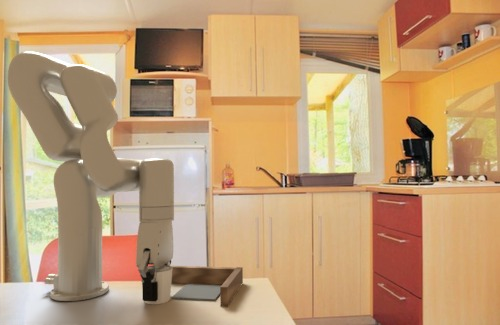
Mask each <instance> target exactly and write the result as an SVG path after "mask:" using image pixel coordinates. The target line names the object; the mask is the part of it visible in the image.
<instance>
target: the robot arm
mask: <svg viewBox="0 0 500 325" xmlns="http://www.w3.org/2000/svg"><path fill="white" fill-rule="evenodd" d="M8 65H9V66H8V68H7V85H8V86H7V87H8V90H9V92H10V94H11V97H12V98H13V100H14V102H15V104H16V105H17V107H18V108H19V110H20V111H21V113H22V114H23V116H24V118H25V119H26V122H27V123H28V125H29V127H30V129H31V130H32V133H33V134H34V136H35V138H36V140H37V142H38V143H39V146H40V147H41V149H42V151H43V152H44V154H45V155H46V157H48V158H49V159H51V160H52V161H57V162H63V163H61V164H60V165H59V166H58V167H57V168H56V170H55V173H54V175H53V187H54V191H55V197H56V201H57V204H56V205H57V217H58V218H57V219H58V220H57V221H58V222H57V223H58V225H57V228H58V230H57V231H58V232H57V233H58V234H57V236H58V237H57V273H49V274H47V276H46V278H45V279H44V280H43V281H44V284H45V285H53V289H51V290H50V293H49V294H50V295H49V297H50V299H52V300H54V301H59V302H77V301H84V300H85V301H86V300H90V299H93V298H98V297H99V296H102V295H104V294H106V293H108V291H109V290H110V284H109V283H108V282H106V281H103V213H102V209H101V206H100V203H99V201H98V198H99V199H100V198H105V197H110V196H114V195H115V194H116V193H117V194H118V193H123V192H137V191H138V192H139V195H138V199H139V201H138V204H139V207H138V208H139V210H138V212H139V213H138V215H139V216H138V218H139V220H138V221H139V225H138V230H137V238H136V239H137V240H136V255H135V258H136V260H135V265H136V267H137V269H138V270H137V271H138V273H139V276H140V278H141V280H140V281H141V285H142V287H141V288H142V301H143V302H144V301H157V300H158V282H156V276H157V270H158V268H159V267H161V266H163V265H169V266H171V263H172V259H173V258H174V230H173V221H174V220H175V191H174V190H175V183H174V182H175V181H174V180H175V176H174V175H175V173H174V171H175V170H174V162H173V161H172V160H170V159H167V158H145V159H135V158H123V157H117V156H116V154H115V153H114V150H113V149H112V146H111V144H110V142H109V138H108V131H110V130H111V129H112V128H114V127H115V126H116V124H117V123H118V120H119V114H118V113H117V111H116V109H115V107H114V105H113V102H114V100H116V98H117V97H116V96H117V92H118V88H117V85H116V82H115V80H114V79H113V78H112V77H111V76H110V75H109V74H107V73H105V72H104V71H100V70H98V69H95V68H93V67H91V66H88V65H86V64H80V63H79V64H78V63H76V64H71V63H67V62H65V61H62V60H60V59H58V58H54V57H53V56H50V55H47V54H43V53H40V52H36V51H21V52H20V53H17V54H16V55H14V56H13V57H12V59H11V60H10V62H9V64H8ZM51 93H53V94H58V95H60V96H64V97H66V98H67V100H68V102H69V104H70V106H71V108H72V110H73V112H74V114H75V117H76V118H77V121H78V123H79V124H76V123H73V122H72V121H71V120H70V118H69V117H68V115H67V114H66V111H65V110H64V107H63V106H62V105H61V103H60V102H59V101H58V100H57V99H56V98H55V97H54V96H53V95H52V94H51ZM153 265H154V266H153ZM148 266H153V267H148ZM148 270H153V273H152V274H151V273H150V272H148Z"/></svg>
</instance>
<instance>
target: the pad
mask: <svg viewBox="0 0 500 325" xmlns="http://www.w3.org/2000/svg"><path fill="white" fill-rule="evenodd" d="M221 286H222V285H215V284H189V283H185V285H184V286H183V287H182V288H181V289H179V290H178V291H177V292H176V293H175V294H173V295H171V296H170V300H186V301H203V302H205V301H207V302H215V301H217V300H218V298H219V297H218V296H220V287H221Z"/></svg>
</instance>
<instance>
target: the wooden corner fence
mask: <svg viewBox="0 0 500 325" xmlns="http://www.w3.org/2000/svg"><path fill="white" fill-rule="evenodd" d="M171 266H172V268H173V270H172V281H171V284H195V285H215V284H222V285H220V286H221V287H220V295H219V296H220V298H219V299H220V303H219V304H220V307H227V308H228V307H229V306H230V304H231V302H232V301H233V299H234V297H235V296H236V295H237V293H238V291H239V290H240V288H241V287H242V285H243V284H242V283H244V282H243V281H244V280H243V279H244V275H243V274H244V273H243V272H244V271H243V270H244V269H243V268H244V267H241V266H236V267H228V266H227V267H225V266H200V265H197V266H196V265H195V266H194V265H171ZM241 284H242V285H241ZM240 286H241V287H240ZM238 289H239V290H238Z"/></svg>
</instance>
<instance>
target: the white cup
mask: <svg viewBox="0 0 500 325" xmlns="http://www.w3.org/2000/svg"><path fill="white" fill-rule="evenodd" d="M153 266H154V265H148V267H153ZM172 266H173V265H170V266H169V265H163V266H161V267H159V268H158V270H157V276H156V282H158V300H157V301H143V303H144V304H148V305H159V304H165V303H167V302H169V301H170V300H171V292H172V291H171V290H172V283H171V281H172V270H173V268H172ZM148 272H150V273H151V274H152V273H153V270H148Z"/></svg>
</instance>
